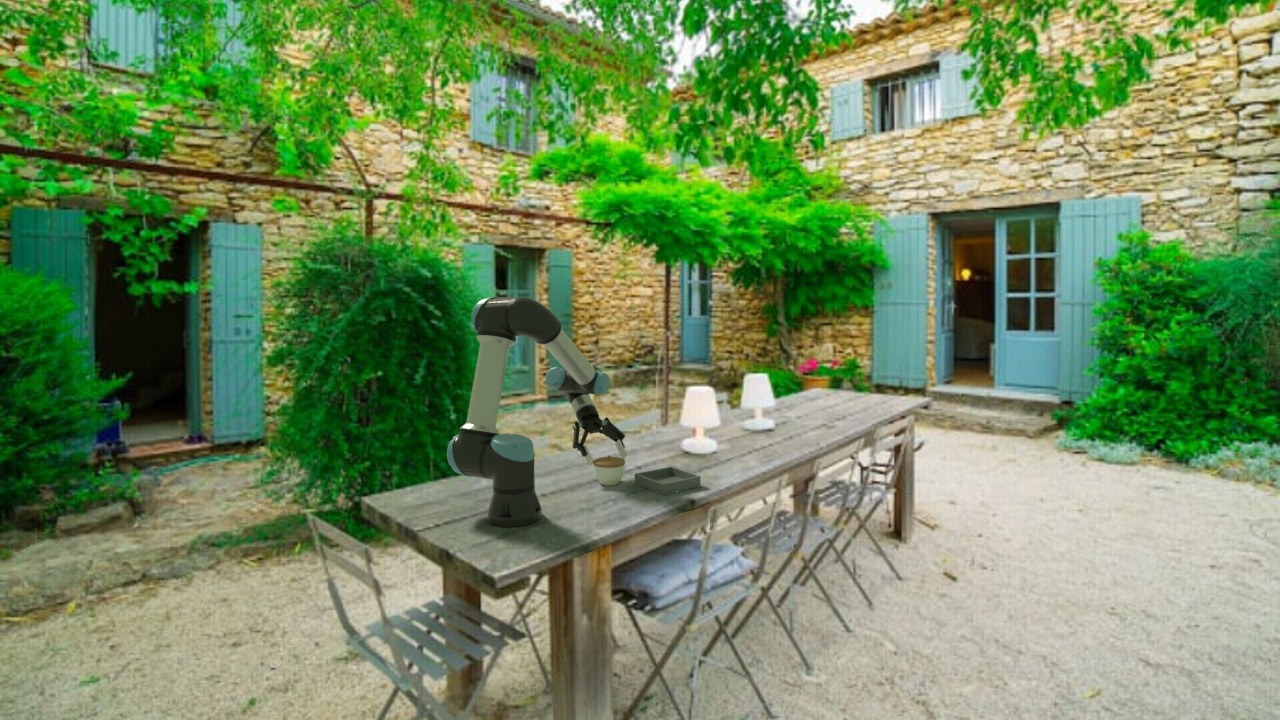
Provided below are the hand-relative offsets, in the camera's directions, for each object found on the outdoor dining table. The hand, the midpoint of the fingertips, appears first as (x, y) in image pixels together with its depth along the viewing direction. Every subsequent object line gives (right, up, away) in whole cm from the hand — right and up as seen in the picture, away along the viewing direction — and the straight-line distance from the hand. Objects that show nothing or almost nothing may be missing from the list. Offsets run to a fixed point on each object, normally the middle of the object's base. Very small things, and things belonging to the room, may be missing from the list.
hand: (608, 460), depth 213 cm
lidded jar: (0, -8, -1) cm, 8 cm away
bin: (+20, -7, -5) cm, 22 cm away
